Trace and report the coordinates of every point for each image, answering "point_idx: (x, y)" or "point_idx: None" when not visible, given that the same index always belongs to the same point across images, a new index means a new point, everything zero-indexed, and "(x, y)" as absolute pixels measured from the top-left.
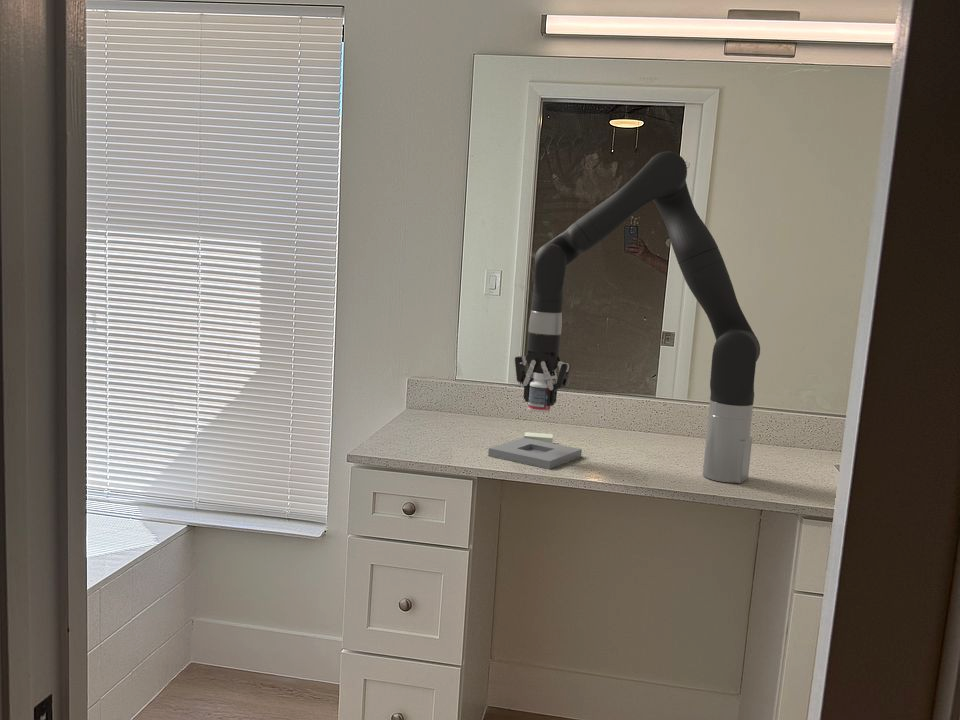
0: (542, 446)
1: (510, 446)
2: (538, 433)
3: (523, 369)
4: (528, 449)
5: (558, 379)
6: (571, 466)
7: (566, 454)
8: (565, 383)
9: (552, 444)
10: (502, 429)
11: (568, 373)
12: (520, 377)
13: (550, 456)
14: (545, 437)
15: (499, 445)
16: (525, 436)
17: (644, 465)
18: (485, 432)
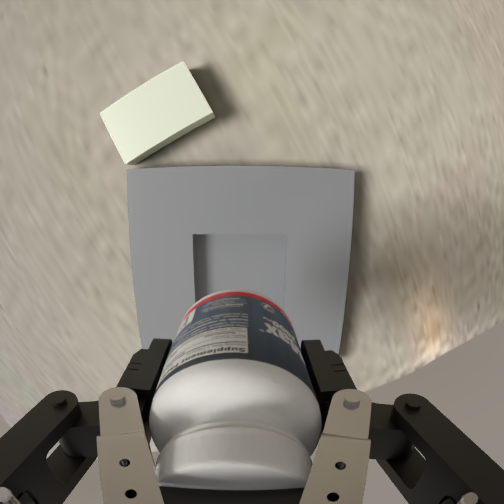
0: (238, 233)
1: (170, 313)
2: (141, 91)
3: (44, 475)
4: (196, 244)
5: (404, 487)
6: (367, 293)
7: (346, 272)
8: (435, 418)
9: (250, 182)
10: (19, 68)
11: (486, 462)
12: (86, 467)
13: (319, 329)
14: (188, 123)
15: (142, 324)
16: (129, 161)
17: (485, 145)
18: (4, 136)
